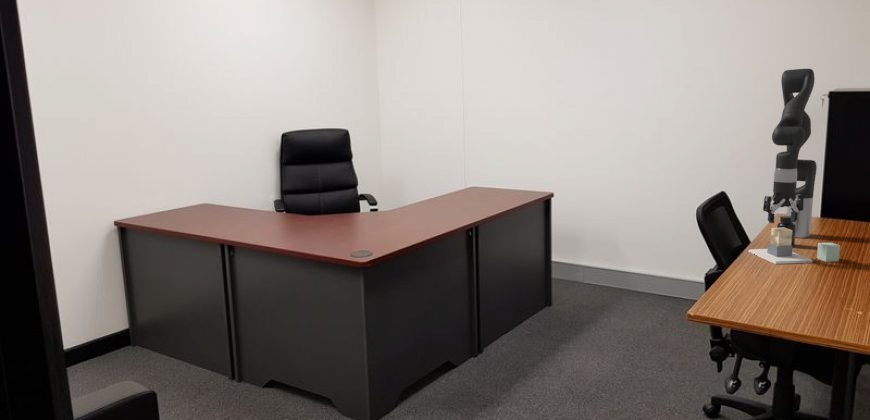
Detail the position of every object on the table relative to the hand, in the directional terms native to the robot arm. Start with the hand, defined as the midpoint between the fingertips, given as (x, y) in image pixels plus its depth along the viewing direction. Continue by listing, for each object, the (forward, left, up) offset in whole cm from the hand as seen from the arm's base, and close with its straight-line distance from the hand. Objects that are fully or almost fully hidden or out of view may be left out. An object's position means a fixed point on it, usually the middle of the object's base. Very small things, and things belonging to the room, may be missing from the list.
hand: (782, 222), depth 234 cm
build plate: (0, 0, -14) cm, 14 cm away
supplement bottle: (-17, +13, -14) cm, 25 cm away
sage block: (+6, +15, -14) cm, 21 cm away
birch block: (0, 0, -9) cm, 9 cm away
